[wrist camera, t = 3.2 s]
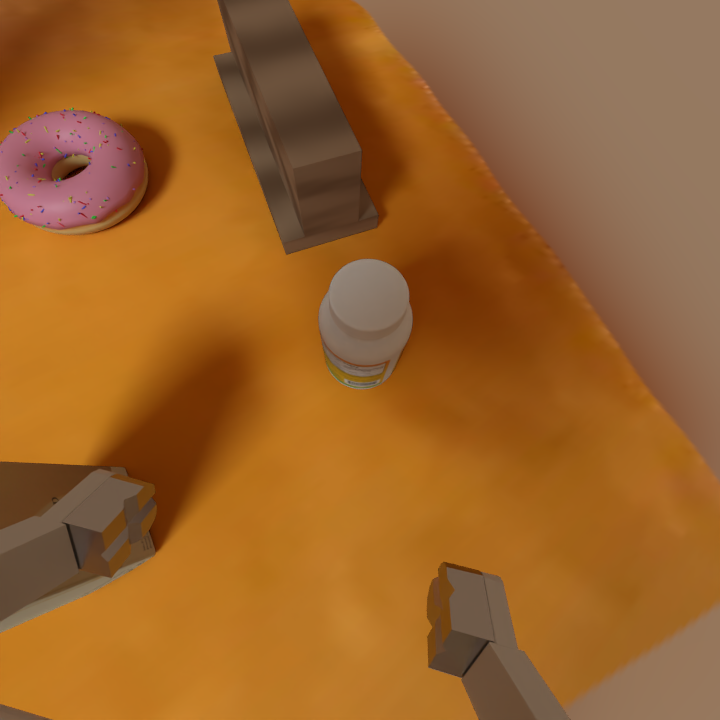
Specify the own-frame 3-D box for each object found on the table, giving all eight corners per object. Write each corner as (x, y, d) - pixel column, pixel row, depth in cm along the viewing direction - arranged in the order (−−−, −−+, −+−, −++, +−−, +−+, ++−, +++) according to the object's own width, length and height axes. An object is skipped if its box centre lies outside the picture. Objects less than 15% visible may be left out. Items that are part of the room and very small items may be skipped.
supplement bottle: (364, 309, 28) (374, 227, 18) (411, 359, 26) (447, 298, 17) (310, 351, 26) (290, 286, 17) (357, 405, 25) (364, 367, 16)
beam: (377, 227, 30) (387, 143, 22) (286, 254, 29) (264, 175, 21) (296, 56, 36) (283, -57, 28) (218, 73, 35) (182, -40, 27)
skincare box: (160, 553, 22) (-51, 646, 10) (90, 595, 21) (-225, 747, 9) (124, 460, 23) (-93, 450, 12) (58, 496, 23) (-246, 522, 11)
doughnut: (181, 164, 31) (157, 120, 27) (111, 264, 28) (73, 230, 24) (74, 127, 32) (36, 79, 28) (-6, 219, 29) (-62, 179, 25)
